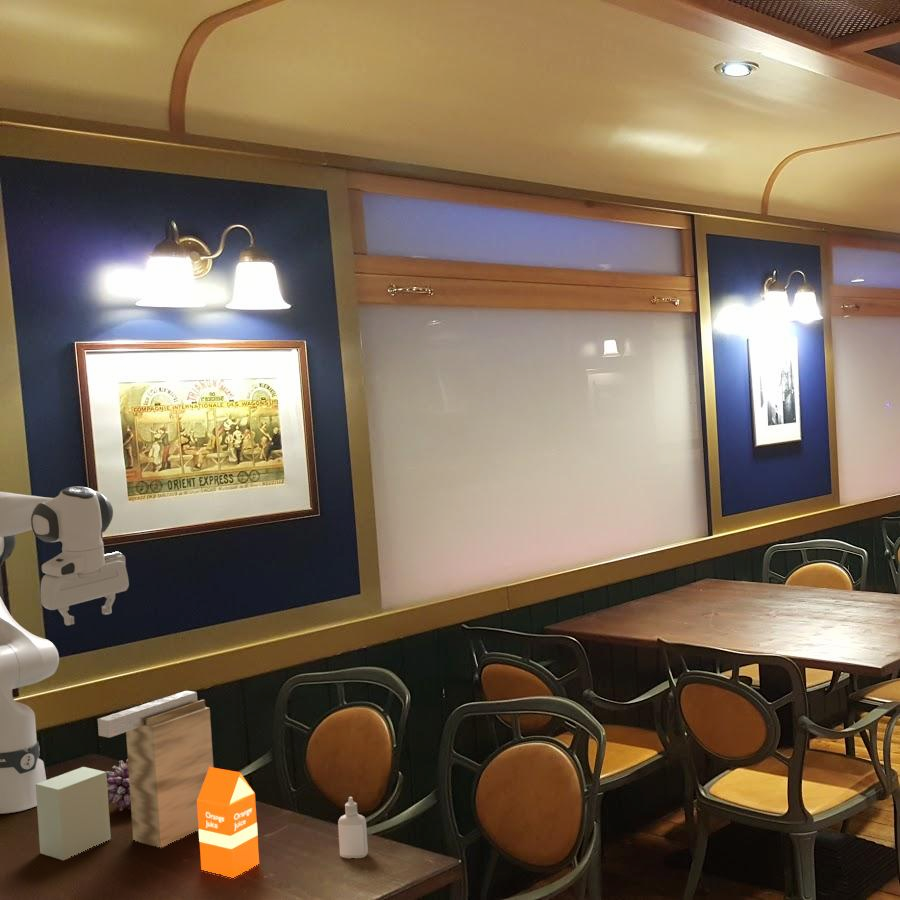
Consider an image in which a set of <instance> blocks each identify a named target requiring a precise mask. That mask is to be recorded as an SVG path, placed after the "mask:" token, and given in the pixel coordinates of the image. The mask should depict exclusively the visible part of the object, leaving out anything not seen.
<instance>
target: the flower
mask: <svg viewBox="0 0 900 900" xmlns="http://www.w3.org/2000/svg"><path fill="white" fill-rule="evenodd" d="M125 761H126V762H124V761H123V760H119V761H118V763H119V765H118V766H116V765H113V766H112V767H111V768H112V770H113V771H109V770H107V771H106V774H107V777H108V778H107V789H108V793H109V794H108V804H110V803H111V804H112V805H116V807H118V806H119V811H120V812H123V810H124V808H125V807H126V806H127V809H128V810H129V809H130V810H131V799H130V784H129V769H128V758H127V759H126V760H125Z"/></svg>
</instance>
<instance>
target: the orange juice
mask: <svg viewBox="0 0 900 900" xmlns="http://www.w3.org/2000/svg"><path fill="white" fill-rule="evenodd" d="M256 805H257V804H256V793H255V791H254V790H253V789H252V787H251V786H250V785H249V783H248V781H247V780H246V779H245V777H244V776H243V774H242V773H241V772H239V771H235V770H234V771H233V770H229V769H222V768H217V767H214V766H213V767H209V770H208V772H207V775H206V778H205V781H204V783H203V786H202V789H201V792H200V794H199V797H198V799H197V808H198V824H199V830H198V839H199V840H198V842H199V851H200V854H199V855H200V868H201V870H204V871H208V872H212V873H216V874H221V875H223V876H227V877H231V878H234V877H236V876H238V875H240V874H241V875H243V874H244V873H243V872H245V871H247V872H249V871H250V870H252V869H254V868H255V867H257V866H259V865H260V856H259V855H260V854H259V836H258V835H259V834H258V822H257V821H258V820H257V808H256ZM258 864H259V865H258ZM256 865H257V866H256ZM254 866H255V867H254ZM253 867H254V868H253ZM251 868H252V869H251ZM249 869H250V870H249ZM242 873H243V874H242ZM245 873H246V872H245ZM241 875H240V876H241ZM223 876H222V877H223ZM227 877H226V878H227ZM238 877H239V876H238ZM231 878H230V879H231ZM236 878H237V877H236ZM234 879H235V878H234Z"/></svg>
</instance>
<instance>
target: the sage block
mask: <svg viewBox="0 0 900 900" xmlns="http://www.w3.org/2000/svg"><path fill="white" fill-rule="evenodd" d="M106 773H107V771H103V770H99V769H95V768H90V767H86V766H81V767H79V768H76V769H73V770H70V771H68V772H65V773H63V774H60V775H57V776H54V777H51V778H49V779H46V780H45V781H42V782H40V783H37V784H36V798H37V806H36V811H37V824H38V839H39V840H38V841H39V853H40V854H41V855H45V856H48V857H52V858H55V859H58V860H60V861H65V860H68V859H71V858H72V857H74V855H75V856H77V855H79V854H81V852H82V853H83V851H84V852H86V851H88V850H90V849H89V848H91V849H93V848H94V847H93V846H95V847H97V846H100V845H102V844H104V843H106V842H105V841H107V842H108V840H109V841H111V840H112V837H111V836H112V835H111V834H112V833H111V822H110V809H109V804H110V803H109V804H108V799H109V797H108V795H109V794H108V793H109V792H108V789H107V785H108V783H107V779H108V778H107V777H108V775H107V774H106ZM110 839H111V840H110ZM103 842H104V843H103ZM101 843H102V844H101ZM99 844H100V845H99ZM96 845H97V846H96ZM92 847H93V848H92ZM87 849H88V850H87ZM85 850H86V851H85ZM78 853H79V854H78ZM71 856H72V857H71Z"/></svg>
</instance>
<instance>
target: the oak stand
mask: <svg viewBox="0 0 900 900" xmlns="http://www.w3.org/2000/svg"><path fill="white" fill-rule="evenodd" d="M210 709H211V708H210V707H207V706H206V699H200V700H197V702H194V703H191V704H188V705H185V706H182V707H179V708H176V709H173V710H170V711H167V712H164V713H161V714H158V715H155V716H152V717H149V718H146V725H145V726H142V727H139V728H136V729H133V730H131V731H128V732H125V737H126V748H127V749H126V750H127V759H128V769H129V784H130V799H131V809H130V810H131V811H130V813H131V825H132V826H131V827H132V840H135V841H134V842H137V841H138V843H141V844H145V845H148V846H152V847H155V846H156V848H159V847H160V848H159V849H162V848H165V847H166V846H168V844H169V845H170V843H171V844H172V842H173V843H175V842H177V841H179V840H181V839H183V838H185V836H186V837H187V835H188V836H190V835H192V834H194V833H196V832H199V824H198V808H197V799H198V797H199V794H200V792H201V789H202V786H203V783H204V781H205V778H206V775H207V772H208V770H209V767H213V768H214V756H213V754H214V753H213V740H212V727H211V726H212V723H211V722H212V721H211V710H210ZM195 831H196V832H195ZM193 832H194V833H193ZM191 833H192V834H191ZM189 834H190V835H189ZM180 838H181V839H180ZM176 840H177V841H176ZM174 841H175V842H174ZM161 847H162V848H161Z"/></svg>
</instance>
